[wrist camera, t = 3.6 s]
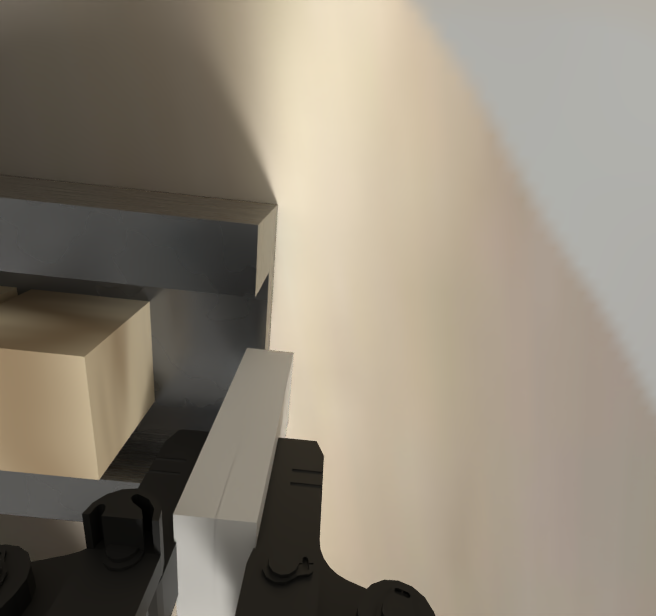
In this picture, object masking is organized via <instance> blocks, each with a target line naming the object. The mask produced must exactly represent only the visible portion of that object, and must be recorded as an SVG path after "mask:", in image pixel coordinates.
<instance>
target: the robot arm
mask: <svg viewBox="0 0 656 616" xmlns="http://www.w3.org/2000/svg"><path fill="white" fill-rule="evenodd" d="M293 355H294V353H292V352H282V351H272V350H263V349H253V348H247V349H246V351H245V354H244V356H243V358H242V360H241V363H240V365H239V367H238V369H237V372H236V374H235V376H234V378H233V381H232V383H231V385H230V387H229V390H228V392H227V394H226V396H225V399H224V401H223V403H222V405H221V408H220V410H219V412H218V414H217V417H216V419H215V421H214V423H213V426H212V428H211V430H210V432H205V431H196V430H186V429H180V430H179V431H177V432H176V433H175V434H174V435H172V436H171V437H170V438H169V439H167V440H166V441H165V442H164V444H163V446H162V447H161V449H160V451H159V453H158V454H157V456H156V460H154V461H153V463H152V465H151V466H150V468H149V471H148V473H146V475H145V477H144V478H143V480H142V482H141V484H140V485H139V487H138V488H135V489H121V490H118V491H115V492H112V493H108V494H106V495H104V496H103V497H101V498H99V499H98V500H96V501H94V502H93V503H92V504H91V505H90V506H89V507H88V508H87V509H86V510H85V511H84V512H83V513H82V518H83V525H84V532H85V539H86V546H87V549H84V550H82V551H80V552H77V553H73V554H69V555H65V556H60V557H55V558H50V559H44V560H39V561H34V562H30V558H29V554H28V553H27V552H26V551H25V550H23V549H22V548H21V547H19V546H12V545H0V616H171V614H172V611H173V609H174V606H175V603H176V605H177V616H435V614H434V611H433V610H432V608H431V607H430V605H429V603H428V602H427V600H426V599H425V597H424V596H422V595H421V594H420V593H419V592H418V591H417V590H416V589H414V588H413V587H412V586H409V585H407V584H405V583H402V582H400V581H395V580H382V581H380V582H377V583H374V584H371V585H370V586H369V587H368V588H367V589H366V588H363V587H361V586H359V585H357V584H354V583H352V582H350V581H348V580H346V579H344V578H342V577H341V576H339V575H338V574H336V573H335V572H334V571H333V570H332V569H331V568H330V567H329V565H328V564H327V563H326V561H325V560H324V558H323V555H322V552H321V550H320V521H321V501H322V481H323V461H324V455H323V453H322V451H321V449H320V447H319V445H318V443H317V441H308V440H298V439H288V438H285V436H286V431H287V425H288V416H289V403H290V391H291V379H292V367H293Z"/></svg>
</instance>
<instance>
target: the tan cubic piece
mask: <svg viewBox="0 0 656 616" xmlns="http://www.w3.org/2000/svg"><path fill="white" fill-rule="evenodd" d="M154 402H155V393H154V375H153V356H152V337H151V319H150V301H140V300H131V299H121V298H112V297H102V296H92V295H83V294H73V293H64V292H54V291H44V290H35V289H31V290H29V291H27V292H24V293H22V294H20V295H18V296H16V297H14V298H12V299H10V300H8V301H6V302H4V303H2V304H0V470H3V471H13V472H23V473H33V474H43V475H53V476H63V477H74V478H84V479H94V480H99V479H100V478H101V477H102V475H103V474H104V472H105V471H106V470H107V468H108V467H109V465H110V464H111V463H112V461H113V460H114V458H115V457H116V455H117V454H118V453H119V451H120V450H121V448H122V447H123V446H124V444H125V443H126V441H127V440H128V438H129V437H130V436H131V434H132V433H133V431H134V430H135V429H136V427H137V426H138V424H139V423H140V422H141V420H142V419H143V417H144V416H145V414H146V413H147V412H148V410H149V409H150V407H151V406H152V405H153V403H154Z"/></svg>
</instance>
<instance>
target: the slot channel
mask: <svg viewBox="0 0 656 616" xmlns="http://www.w3.org/2000/svg"><path fill="white" fill-rule="evenodd" d="M277 208H278V205H276V204H267V203H257V202H248V201H239V200H229V199H220V198H211V197H201V196H192V195H183V194H174V193H164V192H155V191H146V190H136V189H127V188H118V187H109V186H99V185H90V184H81V183H71V182H62V181H53V180H43V179H34V178H25V177H16V176H6V175H0V286H6V287H16V288H17V293H18V295H20V294H22V293H24V292H27V291H29V290H31V289H35V290H44V291H54V292H64V293H73V294H83V295H92V296H102V297H112V298H121V299H131V300H140V301H150V319H151V337H152V356H153V375H154V393H155V402H154V403H153V405H152V406H151V407H150V409H149V410H148V412H147V413H146V414H145V416H144V417H143V419H142V420H141V422H140V423H139V424H138V426H137V427H136V429H135V430H134V431H133V433H132V434H131V436H130V437H129V438H128V440H127V441H126V443H125V444H124V446H123V447H122V448H121V450H120V451H119V453H118V454H117V455H116V457H115V458H114V460H113V461H112V463H111V464H110V465H109V467H108V468H107V470H106V471H105V472H104V474H103V475H102V477H101V478H100V479H99V480H94V479H84V478H74V477H63V476H53V475H43V474H33V473H23V472H13V471H3V470H0V514H8V515H18V516H28V517H39V518H49V519H59V520H69V521H80V522H83V518H82V513H83V512H84V511H85V510H86V509H87V508H88V507H89V506H90V505H91V504H92V503H93V502H94V501H96V500H98V499H99V498H101V497H103V496H104V495H106V494H108V493H112V492H115V491H118V490H121V489H135V488H138V487H139V485H140V484H141V482H142V480H143V478H144V477H145V475H146V473H148V471H149V468H150V466H151V465H152V463H153V461H154V460H156V456H157V454H158V453H159V451H160V449H161V447H162V446H163V444H164V442H165V441H166V440H167V439H169V438H170V437H171V436H172V435H174V434H175V433H176V432H177V431H179V430H180V429H186V430H196V431H205V432H210V430H211V428H212V426H213V423H214V421H215V419H216V417H217V414H218V412H219V410H220V408H221V405H222V403H223V401H224V399H225V396H226V394H227V392H228V390H229V387H230V385H231V383H232V381H233V378H234V376H235V374H236V372H237V369H238V367H239V365H240V363H241V360H242V358H243V356H244V354H245V351H246V349H247V348H253V349H263V350H269V346H270V328H271V311H272V294H273V277H274V260H275V242H276V225H277Z"/></svg>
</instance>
